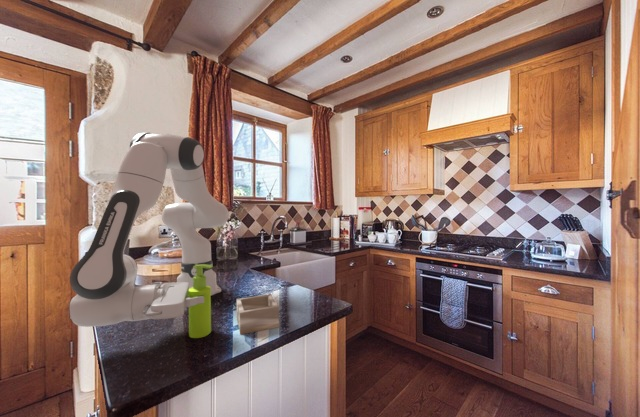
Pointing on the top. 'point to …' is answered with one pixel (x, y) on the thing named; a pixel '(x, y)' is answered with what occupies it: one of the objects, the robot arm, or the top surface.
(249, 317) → the box
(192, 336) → the soap dispenser
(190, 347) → the top surface
